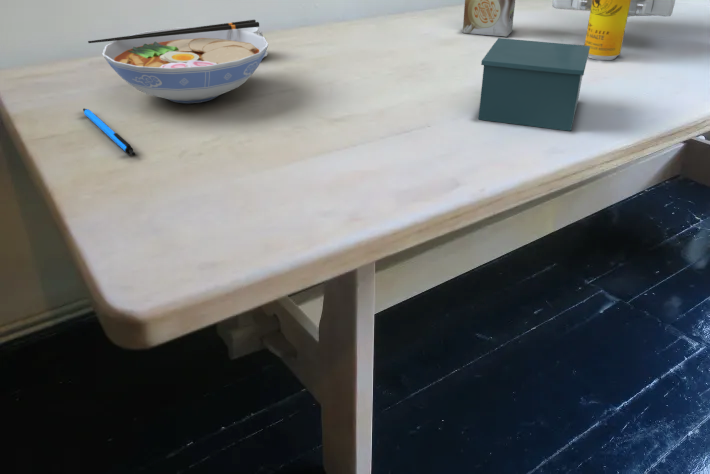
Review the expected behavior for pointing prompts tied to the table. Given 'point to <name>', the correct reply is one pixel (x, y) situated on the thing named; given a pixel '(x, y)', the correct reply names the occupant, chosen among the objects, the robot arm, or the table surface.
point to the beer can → (606, 28)
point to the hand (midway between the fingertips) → (610, 7)
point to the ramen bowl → (187, 60)
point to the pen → (109, 132)
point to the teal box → (532, 83)
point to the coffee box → (488, 17)
